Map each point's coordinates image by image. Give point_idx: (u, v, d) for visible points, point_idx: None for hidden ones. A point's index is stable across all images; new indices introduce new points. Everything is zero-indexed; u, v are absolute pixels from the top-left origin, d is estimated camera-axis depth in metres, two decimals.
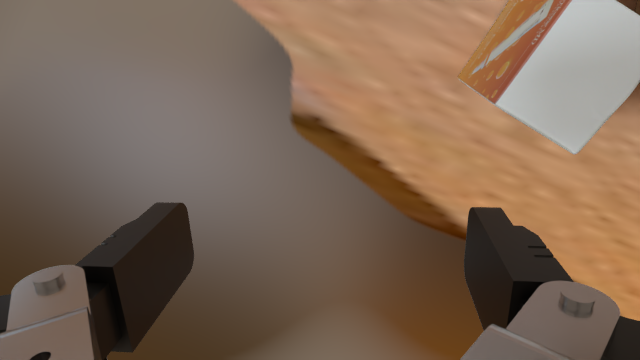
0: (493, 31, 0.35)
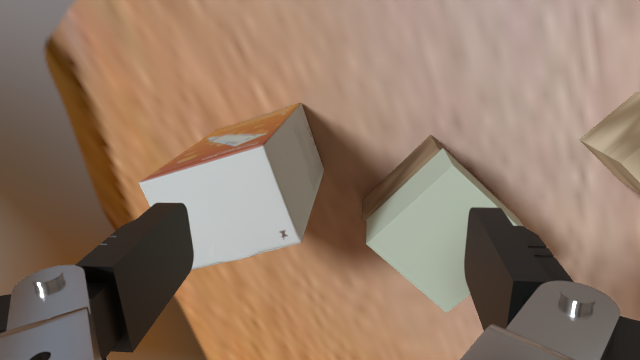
0: (258, 118, 0.34)
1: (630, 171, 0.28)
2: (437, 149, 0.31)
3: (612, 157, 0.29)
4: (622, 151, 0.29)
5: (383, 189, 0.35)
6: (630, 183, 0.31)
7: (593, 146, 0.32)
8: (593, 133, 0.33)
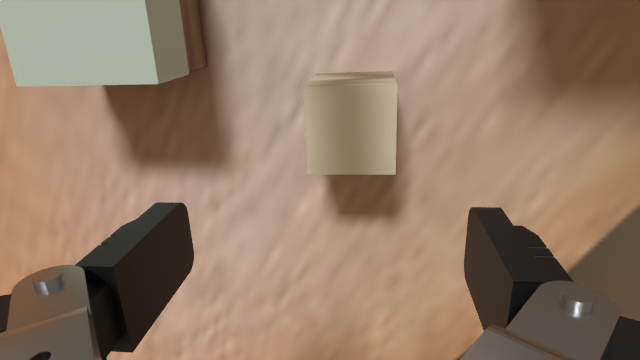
0: None
1: (305, 104, 0.23)
2: None
3: (307, 84, 0.24)
4: (318, 84, 0.24)
5: None
6: None
7: (313, 77, 0.27)
8: (328, 74, 0.28)
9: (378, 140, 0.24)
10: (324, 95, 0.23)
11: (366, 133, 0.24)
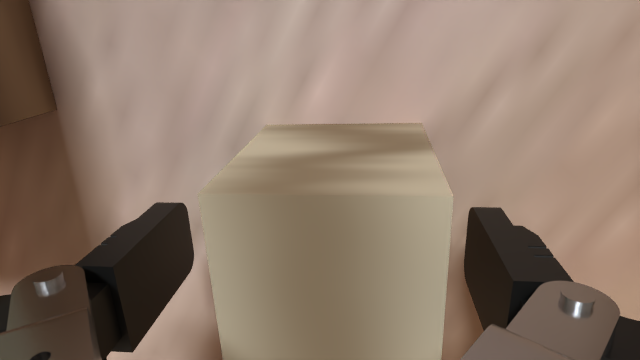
0: None
1: (206, 234, 0.09)
2: None
3: (219, 175, 0.10)
4: (244, 178, 0.09)
5: None
6: None
7: (251, 143, 0.12)
8: (289, 130, 0.13)
9: (396, 325, 0.09)
10: (254, 215, 0.09)
11: (366, 309, 0.09)
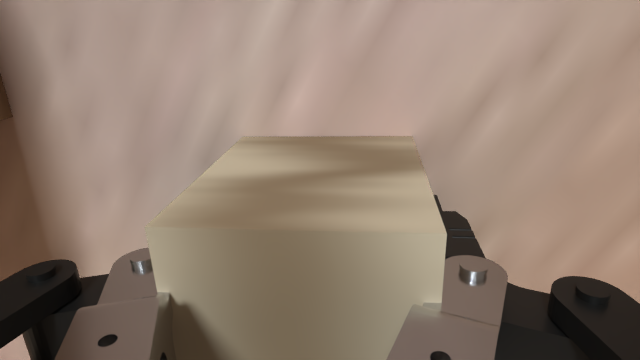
0: None
1: (157, 273, 0.08)
2: None
3: (176, 201, 0.08)
4: (204, 205, 0.08)
5: None
6: None
7: (221, 159, 0.11)
8: (266, 143, 0.12)
9: None
10: (211, 252, 0.07)
11: (345, 359, 0.08)
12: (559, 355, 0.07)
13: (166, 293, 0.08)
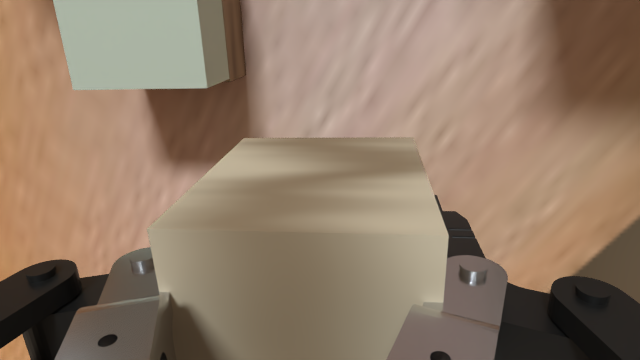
0: None
1: (159, 275, 0.08)
2: None
3: (178, 203, 0.08)
4: (206, 207, 0.08)
5: None
6: None
7: (223, 160, 0.11)
8: (267, 144, 0.12)
9: None
10: (213, 254, 0.07)
11: None
12: (559, 355, 0.07)
13: (166, 293, 0.08)
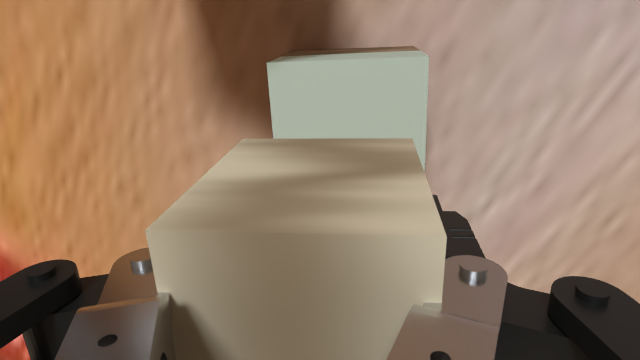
0: None
1: (157, 276, 0.08)
2: None
3: (176, 204, 0.08)
4: (204, 208, 0.08)
5: (326, 51, 0.27)
6: None
7: (222, 161, 0.11)
8: (266, 145, 0.12)
9: None
10: (211, 255, 0.07)
11: None
12: (559, 355, 0.07)
13: (166, 293, 0.08)
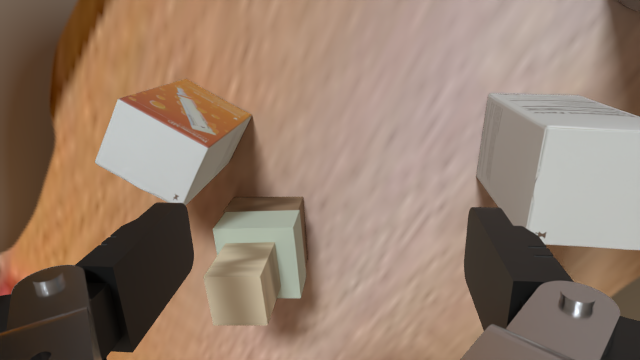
0: (218, 102, 0.44)
1: (206, 286, 0.37)
2: None
3: (208, 270, 0.38)
4: (214, 271, 0.37)
5: (250, 204, 0.47)
6: None
7: (218, 254, 0.40)
8: (231, 246, 0.41)
9: (253, 306, 0.37)
10: (216, 281, 0.37)
11: (245, 302, 0.37)
12: None
13: None
